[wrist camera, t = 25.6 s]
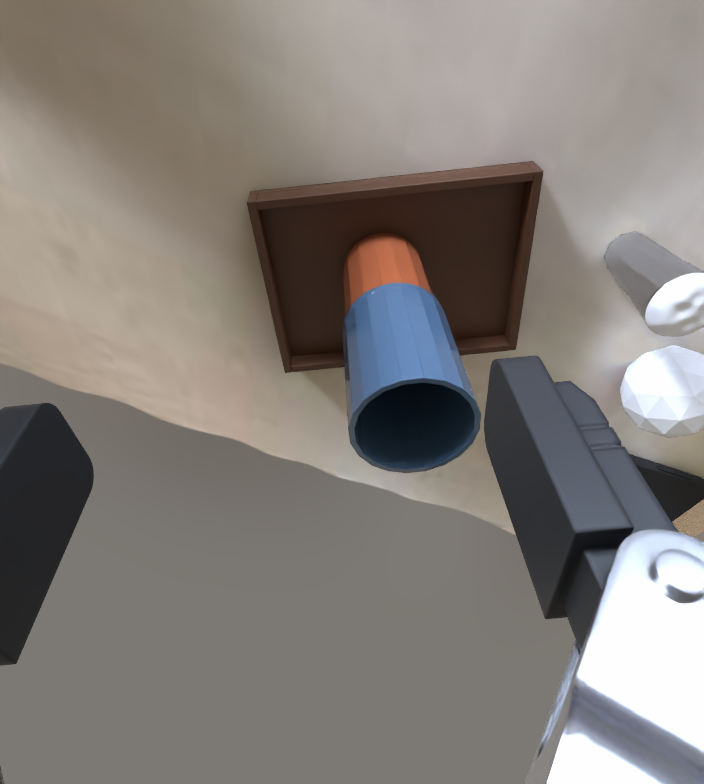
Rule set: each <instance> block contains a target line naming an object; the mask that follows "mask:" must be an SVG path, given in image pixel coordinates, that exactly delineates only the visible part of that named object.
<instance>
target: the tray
mask: <svg viewBox="0 0 704 784" xmlns="http://www.w3.org/2000/svg"><path fill="white" fill-rule="evenodd" d="M542 176H543V170H542V169H541V168H540V167H539V166H537V165H536V164H535V163H534V162H533V161H531V162H521V163H512V164H503V165H493V166H484V167H475V168H465V169H456V170H447V171H437V172H428V173H419V174H409V175H400V176H391V177H381V178H372V179H363V180H353V181H344V182H335V183H325V184H316V185H307V186H297V187H288V188H279V189H269V190H260V191H251V192H250V195H249V198H248V201H247V205H248V210H249V214H250V219H251V223H252V228H253V232H254V237H255V241H256V246H257V250H258V255H259V259H260V264H261V268H262V273H263V277H264V281H265V286H266V290H267V295H268V299H269V304H270V308H271V313H272V317H273V322H274V326H275V331H276V335H277V340H278V344H279V348H280V353H281V357H282V362H283V366H284V371H285V373H288V372H298V371H308V370H318V369H328V368H338V367H344V351H343V335H342V334H343V323H344V319H345V316H346V308H345V295H344V282H343V266H344V262H345V259H346V256H347V254H348V253H349V251H350V250H351V249H352V247H353V246H354V245H355V244H356V243H358V242H359V241H360V240H362V239H364V238H365V237H368V236H370V235H373V234H378V233H392V234H396V235H399V236H401V237H403V238H405V239H407V240H408V241H409V242H411V243H412V244H413V245H414V247H415V248H416V250H417V251H418V253H419V256H420V258H421V261H422V263H423V266H424V269H425V272H426V274H427V277H428V280H429V283H430V286H431V289H432V292H433V295H434V296H435V297H436V299H437V300H438V301H439V302H440V304H441V306H442V308H443V310H444V313H445V315H446V318H447V321H448V323H449V326H450V329H451V332H452V335H453V337H454V340H455V343H456V346H457V349H458V351H459V354H460V355H468V354H478V353H488V352H498V351H508V350H516V345H517V338H518V332H519V325H520V319H521V312H522V306H523V299H524V293H525V286H526V280H527V273H528V267H529V261H530V254H531V248H532V241H533V235H534V228H535V222H536V215H537V209H538V202H539V196H540V189H541V183H542Z"/></svg>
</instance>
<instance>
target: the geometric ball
mask: <svg viewBox="0 0 704 784" xmlns="http://www.w3.org/2000/svg"><path fill="white" fill-rule="evenodd" d="M620 394H621V399H622V405H623V407H624V410H625V412H626V414H627V415H628V416H629V417H630V418H631V419H632V421H633V422H634V423H635V424H636V425H637V426H638V427H639V428H640V429H643V430H646V431H649V432H652V433H655V434H658V435H661V436H664V437H667V438H671V437H677V436H684V435H690V434H695V433H697V432H698V431H700V430H702V429H704V354H701V353H698V352H695V351H692V350H688V349H685V348H682V347H679V346H675V345H672V346H669V347H666V348H662V349H659V350H655V351H652V352H648V353H645V354H643V355H642V356H640V357H639V358H638V359H637V360H635V361H634V362H633V363H632V364H630V365H629V366H628V368H627V371H626V373H625V376H624V378H623V381H622V384H621V387H620Z"/></svg>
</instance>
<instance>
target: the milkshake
mask: <svg viewBox="0 0 704 784" xmlns="http://www.w3.org/2000/svg"><path fill="white" fill-rule="evenodd" d="M604 260H605V263H606V266H607V269H608V270H609V271H610V273H611V274H612V275H613V277H614V278H615V280H616V281H617V282H618V284H619V285H620V286H621V288H622V289H623V291H624V292H625V293H626V295H627V296H628V297H629V299H630V300H631V301H632V303H633V304H634V306H635V307H636V309H637V310H638V312H639V313H640V315H641V316H642V318H643V320H644V321H645V323H646V324H647V326H648V327H649V328H650V329H651V330H652V331H653V332H655V333H657V334H659V335H663V336H684V335H687V334H690V333H692V332H694V331H696V330H698V329H700V328H703V327H704V271H703V270H701V269H699V268H697V267H696V266H694V265H692V264H690V263H689V262H687V261H685V260H683V259H681V258H680V257H678V256H677V255H675V254H673V253H672V252H670V251H669V250H667V249H666V248H664V247H663V246H661V245H659V244H658V243H656V242H655V241H653V240H652V239H650V238H649V237H647V236H645V235H643V234H640V233H638V232H636V231H633V232H629V233H625V234H621V235H620V236H619V237H617V238H616V239H615V240H614V241H613V242H611V243H610V244H609V246H608V248H607V250H606V253H605V255H604Z"/></svg>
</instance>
